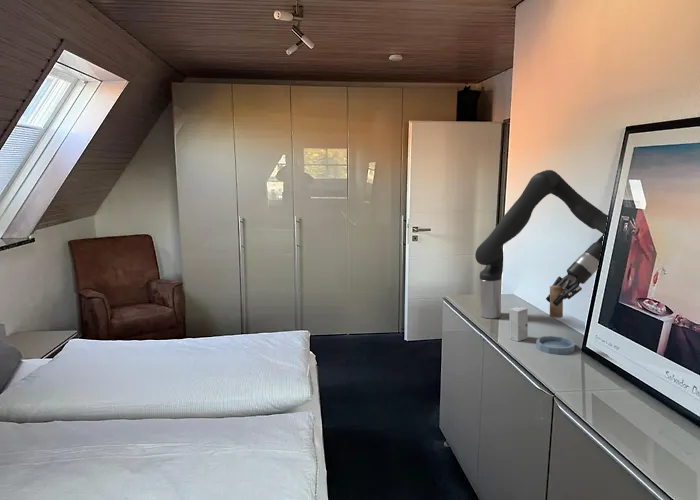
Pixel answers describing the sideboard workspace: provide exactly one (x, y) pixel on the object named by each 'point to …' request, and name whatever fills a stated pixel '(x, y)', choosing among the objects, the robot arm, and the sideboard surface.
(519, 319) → the skincare box
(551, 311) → the walnut canister
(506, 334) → the sideboard surface
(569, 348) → the slate dish
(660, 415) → the sideboard surface
